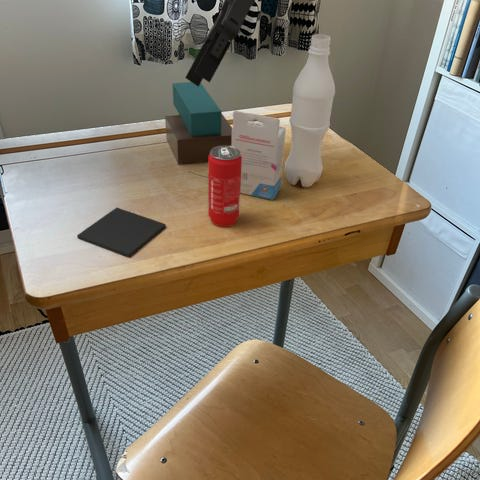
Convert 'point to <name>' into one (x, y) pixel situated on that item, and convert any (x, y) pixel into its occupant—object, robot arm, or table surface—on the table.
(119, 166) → the table surface
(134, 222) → the coaster
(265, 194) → the ink box
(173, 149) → the walnut stand
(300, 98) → the water bottle
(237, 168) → the beverage can
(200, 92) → the teal tall block
